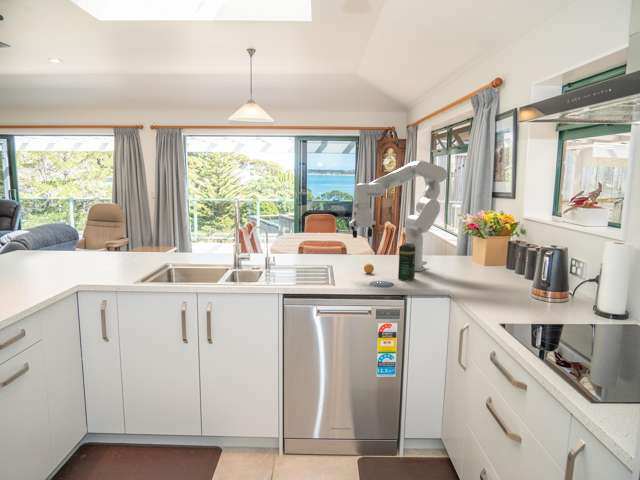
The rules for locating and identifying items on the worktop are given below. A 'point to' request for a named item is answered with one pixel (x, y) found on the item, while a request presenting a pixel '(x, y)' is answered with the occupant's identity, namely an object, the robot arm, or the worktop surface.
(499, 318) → the worktop surface
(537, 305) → the worktop surface
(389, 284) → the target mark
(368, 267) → the ball
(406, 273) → the coffee jar
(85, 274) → the worktop surface
